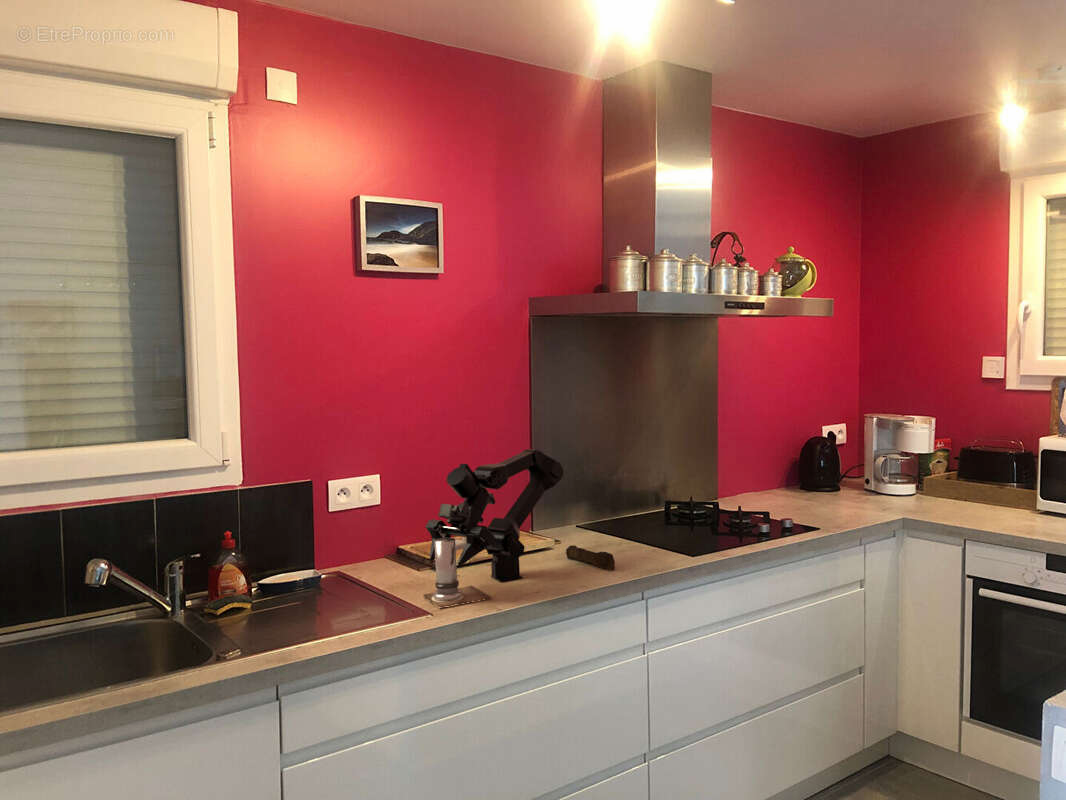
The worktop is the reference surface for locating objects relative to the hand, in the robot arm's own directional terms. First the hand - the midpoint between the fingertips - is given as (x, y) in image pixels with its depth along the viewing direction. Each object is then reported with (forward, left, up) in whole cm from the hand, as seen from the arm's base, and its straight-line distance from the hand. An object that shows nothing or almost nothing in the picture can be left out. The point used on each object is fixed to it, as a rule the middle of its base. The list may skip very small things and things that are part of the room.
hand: (444, 562), depth 206 cm
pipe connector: (-19, -32, -10) cm, 38 cm away
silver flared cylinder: (0, 0, -8) cm, 8 cm away
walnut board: (-3, -1, -9) cm, 10 cm away
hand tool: (-46, -8, -10) cm, 48 cm away
